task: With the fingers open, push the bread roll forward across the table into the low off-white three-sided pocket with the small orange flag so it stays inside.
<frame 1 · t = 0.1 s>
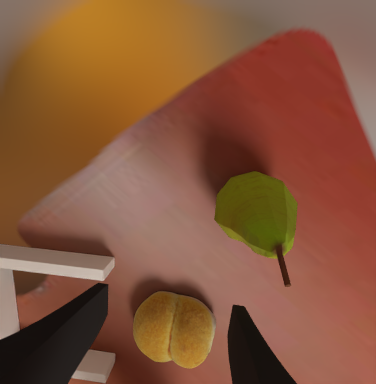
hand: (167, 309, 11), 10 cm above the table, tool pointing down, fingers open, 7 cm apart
pocket: (62, 305, 25), on the table
fruit: (245, 199, 20), on the table
bread roll: (177, 317, 24), on the table
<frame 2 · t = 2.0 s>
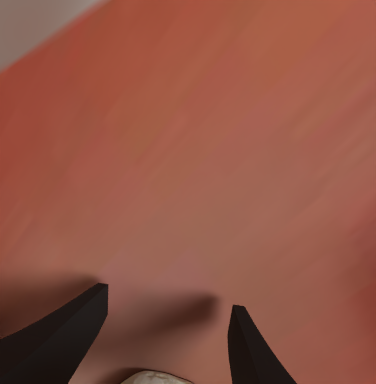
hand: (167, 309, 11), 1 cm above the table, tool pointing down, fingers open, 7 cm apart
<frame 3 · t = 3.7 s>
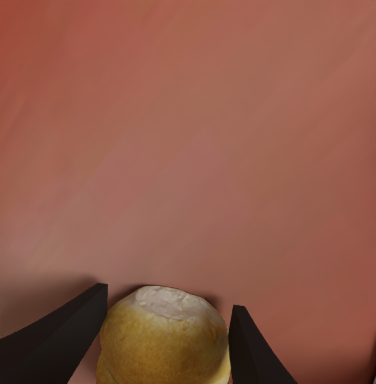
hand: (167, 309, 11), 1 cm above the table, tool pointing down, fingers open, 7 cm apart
bread roll: (165, 334, 14), on the table, touching gripper
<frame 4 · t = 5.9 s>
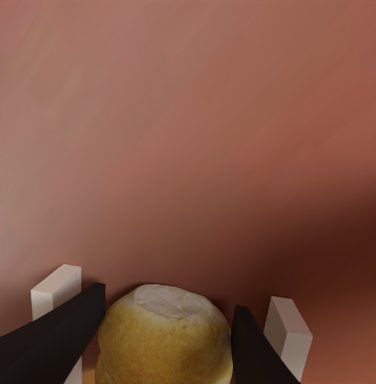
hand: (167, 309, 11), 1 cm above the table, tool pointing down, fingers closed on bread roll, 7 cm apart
pocket: (164, 364, 14), on the table
bread roll: (166, 334, 14), on the table, touching gripper
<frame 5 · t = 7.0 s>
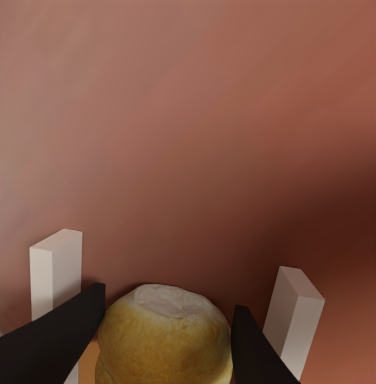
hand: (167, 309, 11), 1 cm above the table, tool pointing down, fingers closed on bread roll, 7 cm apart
pocket: (165, 337, 14), on the table
bread roll: (166, 334, 14), on the table, touching gripper
when the fingers open (1 cm above the table, at t = 7.7 s): bread roll stays where it is, on the table.
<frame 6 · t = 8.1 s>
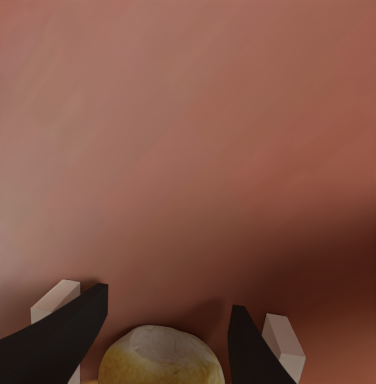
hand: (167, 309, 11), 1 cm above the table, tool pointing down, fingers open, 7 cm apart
pocket: (161, 378, 14), on the table
bread roll: (162, 368, 15), on the table
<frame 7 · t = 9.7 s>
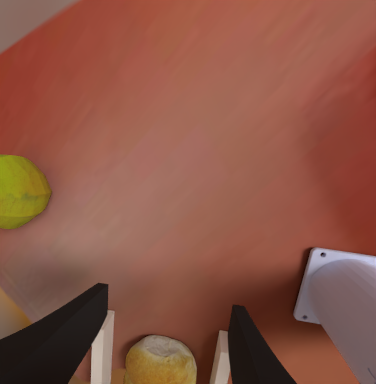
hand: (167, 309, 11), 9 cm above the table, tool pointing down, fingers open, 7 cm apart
pocket: (160, 366, 24), on the table
fruit: (37, 185, 21), on the table
bread roll: (161, 360, 25), on the table
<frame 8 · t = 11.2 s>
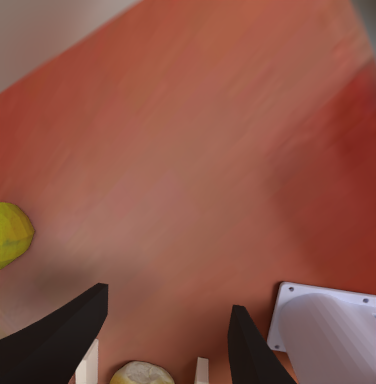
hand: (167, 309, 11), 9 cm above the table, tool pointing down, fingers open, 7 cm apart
fruit: (22, 223, 22), on the table
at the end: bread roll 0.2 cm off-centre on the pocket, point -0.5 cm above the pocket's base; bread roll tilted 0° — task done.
